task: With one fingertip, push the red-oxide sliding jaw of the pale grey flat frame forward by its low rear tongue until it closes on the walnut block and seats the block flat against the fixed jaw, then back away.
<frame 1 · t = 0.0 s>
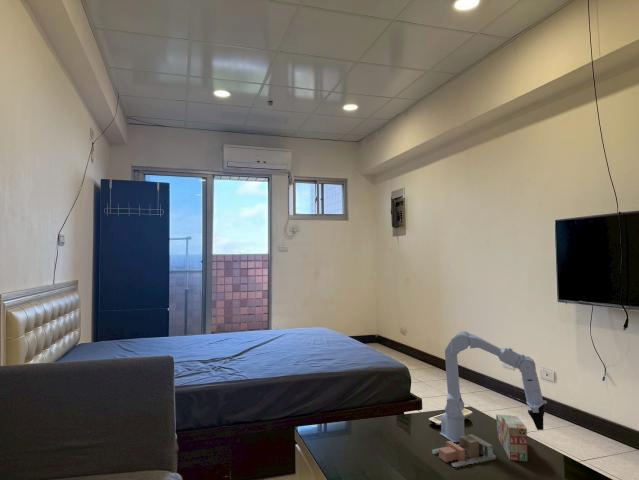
hand: (540, 426, 156), 11 cm above the table, tool pointing down, fingers open, 7 cm apart
sliding jaw: (450, 452, 153), point 2 cm above the table, slide at 0.0 cm
stack of blocks: (511, 449, 161), on the table
block: (469, 454, 156), resting in pale grey flat frame
pale grey flat frame: (479, 452, 158), on the table
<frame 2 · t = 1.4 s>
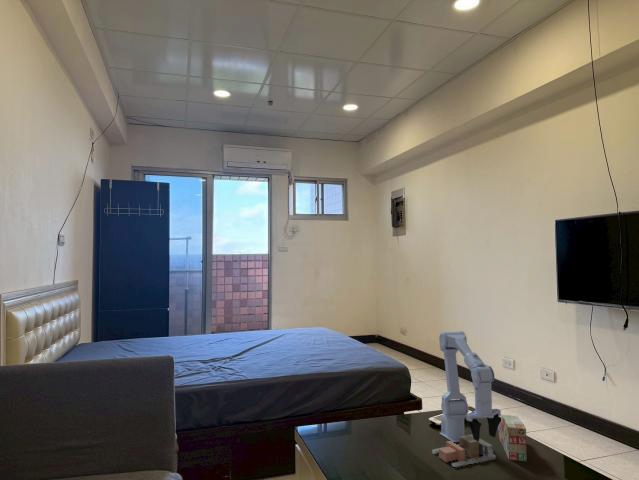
hand: (484, 438, 148), 10 cm above the table, tool pointing down, fingers open, 7 cm apart
nothing on the table moved.
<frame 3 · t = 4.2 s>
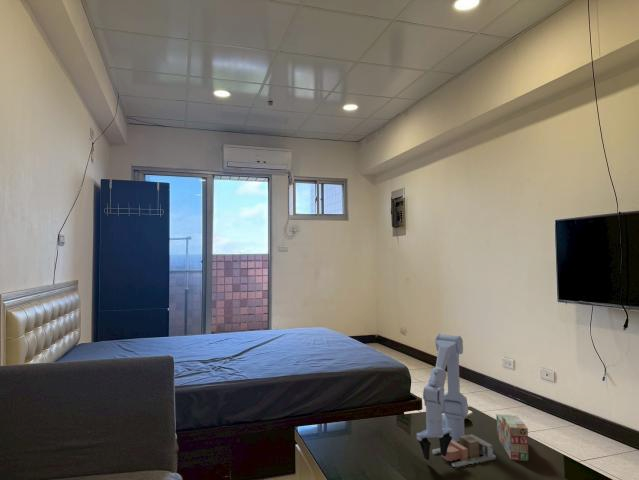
hand: (435, 456, 150), 2 cm above the table, tool pointing down, fingers open, 7 cm apart
sliding jaw: (453, 451, 153), point 2 cm above the table, slide at 1.2 cm, touching gripper
everything else where it was.
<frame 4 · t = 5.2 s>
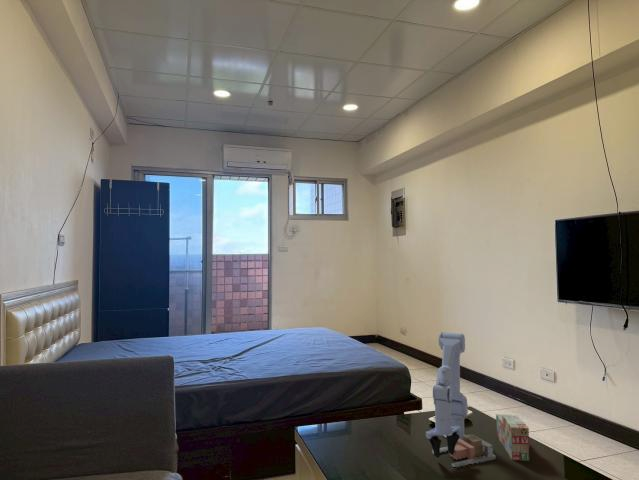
hand: (443, 454, 152), 2 cm above the table, tool pointing down, fingers open, 6 cm apart
sliding jaw: (460, 450, 155), point 2 cm above the table, slide at 4.7 cm, touching block, gripper
block: (472, 453, 157), resting in pale grey flat frame, touching sliding jaw
everything else where it was.
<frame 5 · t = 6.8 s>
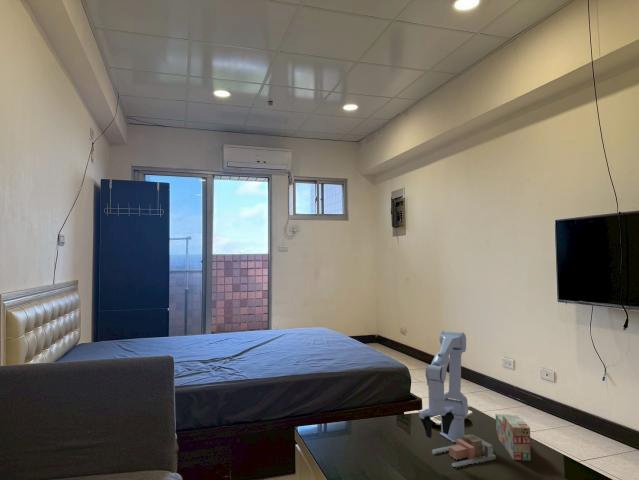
hand: (437, 435, 152), 9 cm above the table, tool pointing down, fingers open, 7 cm apart
sliding jaw: (460, 450, 155), point 2 cm above the table, slide at 4.6 cm
block: (472, 454, 157), resting in pale grey flat frame
everything else where it was.
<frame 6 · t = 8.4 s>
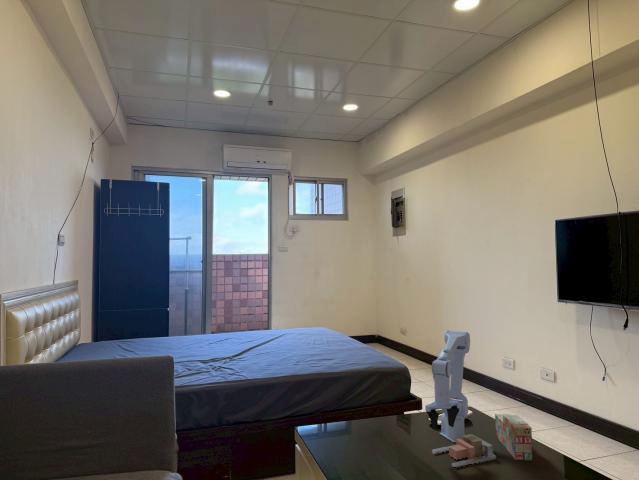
hand: (443, 427, 157), 10 cm above the table, tool pointing down, fingers open, 7 cm apart
at the end: sliding jaw slide at 4.6 cm; block 0.0 cm from the target spot, resting in pale grey flat frame; block tilted 0° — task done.
